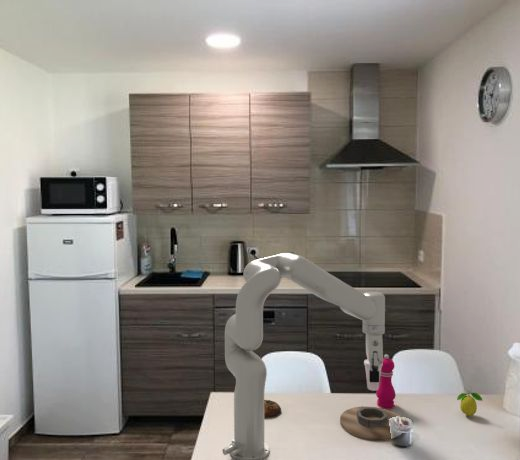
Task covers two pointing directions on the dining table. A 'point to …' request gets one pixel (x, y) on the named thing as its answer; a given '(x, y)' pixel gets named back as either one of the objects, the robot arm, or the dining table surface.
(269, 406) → the bread roll
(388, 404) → the pepper mill
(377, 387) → the smoothie
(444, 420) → the dining table surface
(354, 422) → the carrier plate
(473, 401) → the lemon
